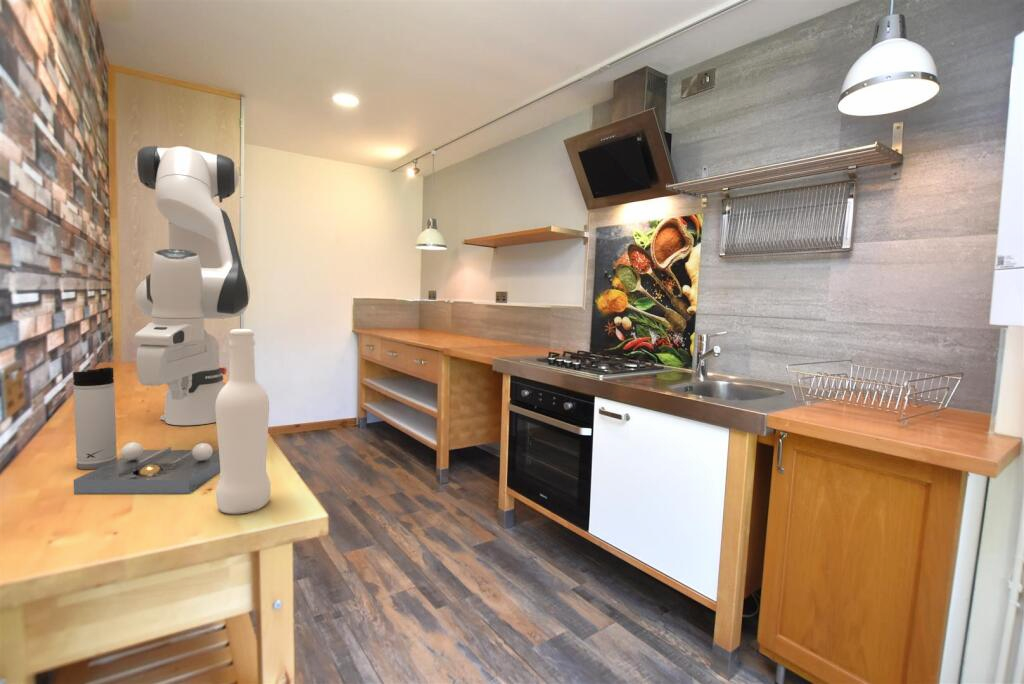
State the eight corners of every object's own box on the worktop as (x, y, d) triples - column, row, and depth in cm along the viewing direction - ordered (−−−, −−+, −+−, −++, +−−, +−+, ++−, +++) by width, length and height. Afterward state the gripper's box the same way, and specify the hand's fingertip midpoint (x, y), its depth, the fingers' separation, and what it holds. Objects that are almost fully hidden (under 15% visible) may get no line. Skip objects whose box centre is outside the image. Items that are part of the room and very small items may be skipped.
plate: (138, 461, 103) (138, 446, 103) (234, 462, 105) (233, 446, 104) (74, 493, 86) (73, 475, 86) (189, 493, 88) (188, 475, 88)
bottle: (247, 492, 89) (245, 326, 87) (281, 501, 86) (280, 329, 84) (204, 510, 82) (201, 328, 79) (240, 519, 79) (238, 331, 76)
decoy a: (198, 457, 99) (197, 440, 99) (216, 457, 100) (216, 440, 99) (188, 463, 96) (187, 445, 96) (207, 463, 96) (206, 445, 96)
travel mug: (95, 471, 97) (91, 370, 95) (68, 468, 98) (63, 368, 96) (126, 461, 103) (122, 366, 101) (100, 458, 104) (96, 364, 102)
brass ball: (144, 483, 93) (147, 464, 94) (164, 483, 93) (167, 464, 94) (132, 484, 90) (136, 464, 90) (152, 483, 90) (156, 464, 91)
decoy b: (129, 457, 98) (128, 439, 98) (147, 457, 99) (147, 440, 98) (116, 463, 95) (116, 445, 94) (136, 463, 95) (135, 445, 95)
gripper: (190, 325, 110) (192, 386, 112) (127, 336, 90) (130, 410, 91) (220, 326, 110) (221, 387, 112) (164, 337, 90) (166, 411, 92)
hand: (180, 397), depth 102 cm, fingers closed
